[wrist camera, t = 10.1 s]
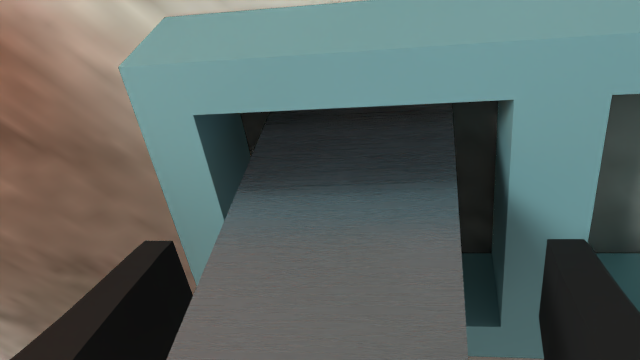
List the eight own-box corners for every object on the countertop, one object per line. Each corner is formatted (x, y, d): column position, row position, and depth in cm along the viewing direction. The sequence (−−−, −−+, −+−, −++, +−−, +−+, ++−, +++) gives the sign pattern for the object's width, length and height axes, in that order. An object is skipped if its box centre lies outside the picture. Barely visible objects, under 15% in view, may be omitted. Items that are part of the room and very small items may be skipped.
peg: (450, 84, 13) (470, 405, 7) (453, 223, 16) (470, 559, 9) (276, 95, 14) (152, 392, 8) (303, 225, 16) (225, 536, 10)
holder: (972, -50, 10) (1101, 2, 8) (811, 285, 15) (870, 369, 13) (164, 17, 13) (118, 66, 11) (242, 280, 18) (218, 348, 16)
